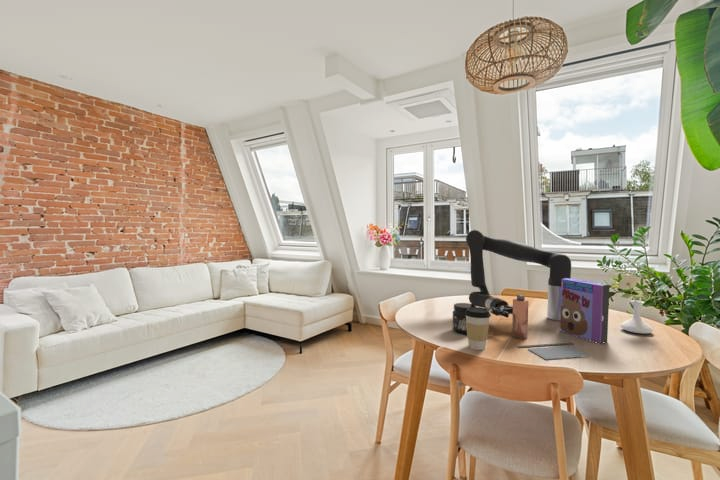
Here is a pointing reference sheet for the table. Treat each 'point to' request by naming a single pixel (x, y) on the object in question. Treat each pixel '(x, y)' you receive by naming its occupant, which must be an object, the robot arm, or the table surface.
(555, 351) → the felt mat
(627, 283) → the flower in vase
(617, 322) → the table surface
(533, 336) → the table surface
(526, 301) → the water bottle
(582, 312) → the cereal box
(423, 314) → the table surface
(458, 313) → the supplement container
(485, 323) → the coffee cup
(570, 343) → the tape line
